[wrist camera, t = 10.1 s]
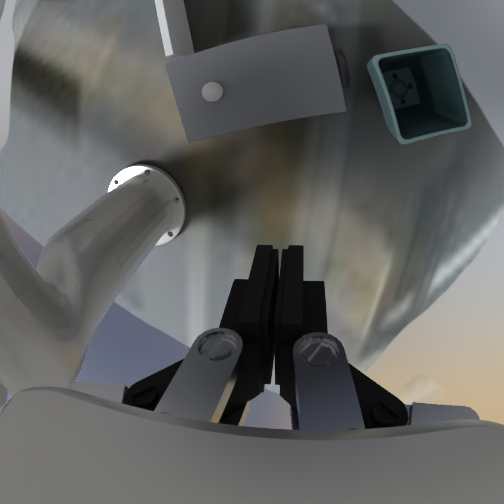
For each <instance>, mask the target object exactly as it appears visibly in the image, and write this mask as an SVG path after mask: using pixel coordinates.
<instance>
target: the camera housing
mask: <svg viewBox="0 0 504 504" xmlns="http://www.w3.org/2000/svg"><path fill="white" fill-rule="evenodd" d="M165 65H166V68H167V72H168V75H169V79H170V82H171V86H172V89H173V93H174V96H175V99H176V103H177V106H178V110H179V113H180V116H181V120H182V123H183V127H184V130H185V133H186V137H187V140H188V143H192V142H195V141H199V140H203V139H207V138H210V137H214V136H218V135H222V134H226V133H230V132H235V131H239V130H243V129H248V128H252V127H257V126H262V125H266V124H271V123H277V122H282V121H287V120H293V119H299V118H305V117H311V116H318V115H325V114H332V113H339V112H347V110H346V105H345V100H344V95H343V90H342V88H345V87H349V85H350V78H349V71H348V66H347V62H346V59H345V56H344V54H343V51H342V50H341V49H333V47H332V43H331V39H330V36H329V32H328V29H327V25H326V24H323V25H315V26H307V27H301V28H294V29H288V30H283V31H277V32H272V33H267V34H263V35H258V36H254V37H250V38H246V39H242V40H238V41H234V42H230V43H227V44H223V45H220V46H216V47H213V48H210V49H207V50H203V51H200V52H197V53H194V54H191V55H189V56H186V57H183V58H180V59H177V60H175V61H172V62H169V63H167V64H165Z"/></svg>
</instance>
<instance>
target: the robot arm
mask: <svg viewBox="0 0 504 504" xmlns="http://www.w3.org/2000/svg"><path fill="white" fill-rule="evenodd" d="M149 170H150V171H149ZM178 198H179V199H178ZM185 218H186V204H185V200H184V196H183V193H182V191H181V189H180V187H179V186H178V184H177V183H176V182H175V180H174V179H173V178H172V177H171V176H170V175H169V174H168V173H166V172H165V171H163V170H162V169H160V168H158V167H155V166H153V165H148V164H135V165H131V166H129V167H127V168H125V169H123V170H122V171H120V172H119V173H118V174H117V175H116V176H115V177H114V178H113V180H112V181H111V183H110V186H109V189H108V193H107V194H105V195H104V196H103V197H101V198H100V199H98V200H97V201H96V202H94V203H93V204H92V205H90V206H89V207H88V208H86V209H85V210H84V211H82V212H81V213H80V214H79V215H77V216H76V217H75V218H73V219H72V220H71V221H70V222H68V223H67V224H66V225H65V226H63V227H62V228H61V229H60V230H59V231H57V232H56V233H55V234H54V235H53V236H52V237H51V238H50V239H49V241H48V242H47V243H46V245H45V247H44V249H43V251H42V253H41V256H40V259H39V262H38V266H37V271H36V270H35V269H34V267H33V266H32V264H31V262H30V261H29V259H28V258H27V256H26V255H25V253H24V251H23V250H22V248H21V247H20V245H19V243H18V242H17V240H16V238H15V237H14V235H13V233H12V232H11V230H10V228H9V227H8V225H7V223H6V222H5V220H4V218H3V217H2V215H1V214H0V411H1V410H2V409H3V410H2V411H1V412H0V504H504V425H502V424H499V423H495V422H491V421H485V420H479V416H478V415H477V413H476V412H475V411H474V410H473V409H471V408H470V407H466V406H452V405H437V404H426V403H416V402H413V403H412V405H406V404H404V403H403V402H402V401H401V400H399V399H398V398H397V397H395V396H394V395H393V394H391V393H390V392H388V391H387V390H385V389H384V388H383V387H381V386H380V385H378V384H377V383H376V382H374V381H373V380H371V379H370V378H369V377H367V376H366V375H364V374H363V373H362V372H360V371H359V370H358V369H356V368H355V367H353V366H352V365H351V364H349V363H348V360H347V357H346V353H345V350H344V347H343V345H342V343H341V342H340V341H339V340H338V339H337V338H336V337H334V336H332V335H331V334H328V331H327V314H326V299H325V287H324V281H303V246H300V245H289V246H288V249H283V250H282V259H281V268H280V277H279V257H278V249H273V246H272V245H257V248H256V252H255V256H254V259H253V263H252V267H251V271H250V275H249V279H235V280H234V282H233V285H232V288H231V291H230V294H229V297H228V301H227V304H226V307H225V310H224V313H223V316H222V320H221V323H220V326H219V328H214V329H210V330H208V331H205V332H203V333H202V334H201V335H199V336H198V337H197V339H196V340H195V341H194V343H193V345H192V346H191V348H190V350H189V352H188V353H187V355H186V357H185V358H184V359H182V360H181V361H178V362H176V363H174V364H173V365H171V366H169V367H167V368H165V369H163V370H161V371H159V372H157V373H155V374H152V375H150V376H148V377H146V378H144V379H142V380H140V381H138V382H136V383H135V384H133V385H132V386H131V387H127V385H126V384H119V383H91V382H75V380H76V378H77V376H78V374H79V372H80V370H81V367H82V365H83V362H84V359H85V356H86V353H87V351H88V348H89V345H90V342H91V340H92V338H93V335H94V333H95V331H96V329H97V327H98V325H99V323H100V321H101V320H102V318H103V316H104V315H105V313H106V312H107V310H108V308H109V307H110V306H111V304H112V302H113V301H114V300H115V298H116V297H117V295H118V294H119V293H120V291H121V290H122V289H123V287H124V286H125V285H126V283H127V282H128V280H129V279H130V278H131V276H132V275H133V274H134V272H135V271H136V270H137V268H138V267H139V266H140V264H141V263H142V262H143V260H144V259H145V258H146V256H147V255H148V254H149V253H150V251H151V250H152V249H153V247H154V246H159V245H163V244H166V243H168V242H169V241H171V240H172V239H173V238H175V237H176V236H177V234H178V233H179V232H180V230H181V228H182V227H183V225H184V221H185ZM274 353H275V385H280V396H281V397H282V398H283V399H284V400H286V401H287V402H288V403H289V404H290V416H291V427H292V430H285V429H269V428H256V427H245V426H243V424H244V421H245V418H246V416H247V413H248V410H249V408H250V404H251V400H252V399H253V398H255V397H256V396H258V395H259V394H260V392H264V386H265V384H271V377H272V369H273V361H274ZM8 391H9V392H11V393H12V394H13V395H14V396H13V397H12V398H11V399H10V400H9V401H8V403H7V404H6V405H5V403H6V401H7V395H8ZM4 405H5V407H4ZM3 407H4V408H3Z"/></svg>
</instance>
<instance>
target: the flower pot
mask: <svg viewBox="0 0 504 504" xmlns="http://www.w3.org/2000/svg"><path fill="white" fill-rule="evenodd" d="M367 69H368V72H369V74H370V77H371V79H372V82H373V85H374V88H375V90H376V93H377V96H378V99H379V102H380V105H381V109H382V112H383V115H384V119H385V122H386V125H387V127H388V129H389V131H390V132H391V133H392V134H393V135H394V137H395V138H396V139H397V140H398V141H399V143H401V144H408V143H412V142H415V141H419V140H423V139H426V138H430V137H434V136H438V135H442V134H446V133H451V132H455V131H460V130H465V129H468V128H470V127H471V118H470V114H469V109H468V105H467V100H466V96H465V92H464V89H463V85H462V81H461V78H460V74H459V70H458V67H457V64H456V60H455V57H454V54H453V51H452V49H451V47H450V46H449V45H447V44H440V45H432V46H426V47H419V48H413V49H407V50H401V51H395V52H390V53H384V54H379V55H375V56H374V57H373V58H372V59H371V60H370V61H369V62H368V63H367ZM392 74H395V75H396V78H393V77H392ZM408 84H410V85H411V88H409V87H408ZM388 91H389V92H388ZM401 99H403V100H404V103H401V102H400V100H401Z"/></svg>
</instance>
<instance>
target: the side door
mask: <svg viewBox="0 0 504 504" xmlns="http://www.w3.org/2000/svg"><path fill="white" fill-rule="evenodd" d="M155 4H156V9H157V15H158V20H159V25H160V30H161V35H162V40H163V45H164V49H165V54H166V57H173V58H179V59H180V58H183V57H186V56H189V55H191V54H194V48H193V44H192V39H191V34H190V29H189V25H188V20H187V15H186V10H185V5H184V0H155Z"/></svg>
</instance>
